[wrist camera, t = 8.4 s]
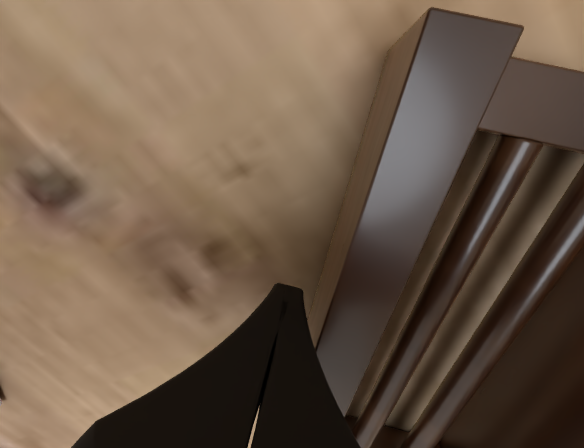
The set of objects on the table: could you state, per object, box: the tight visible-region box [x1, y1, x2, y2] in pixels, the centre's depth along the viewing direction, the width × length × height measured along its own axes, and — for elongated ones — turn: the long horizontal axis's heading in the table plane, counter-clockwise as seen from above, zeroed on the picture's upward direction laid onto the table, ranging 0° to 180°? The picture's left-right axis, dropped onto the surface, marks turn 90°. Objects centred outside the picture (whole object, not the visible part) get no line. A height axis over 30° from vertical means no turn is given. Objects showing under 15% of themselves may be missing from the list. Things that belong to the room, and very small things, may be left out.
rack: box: [307, 7, 584, 448], centre depth 9 cm, size 10×18×7 cm, turn 168°
